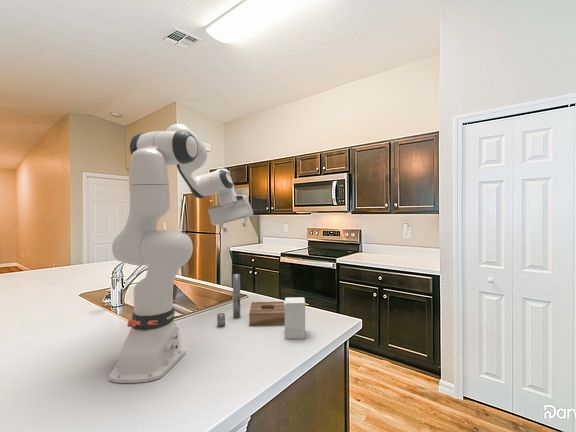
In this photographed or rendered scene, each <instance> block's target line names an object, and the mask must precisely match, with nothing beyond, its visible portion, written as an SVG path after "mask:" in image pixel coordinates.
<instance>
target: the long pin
mask: <svg viewBox="0 0 576 432" xmlns="http://www.w3.org/2000/svg"><path fill="white" fill-rule="evenodd" d="M232 318H233V319H240V318H241V274H240V273H234V274H232Z"/></svg>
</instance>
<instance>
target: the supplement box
mask: <svg viewBox="0 0 576 432" xmlns="http://www.w3.org/2000/svg"><path fill="white" fill-rule="evenodd" d="M284 306H285V325H284V339H287V340H288V339H291V340H292V339H293V340H294V339H295V340H298V339H299V340H301V339H302V340H303V339H306V300H305V297H301V296H300V297H299V296H298V297H295V296H294V297H285V298H284Z"/></svg>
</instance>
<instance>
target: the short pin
mask: <svg viewBox="0 0 576 432" xmlns="http://www.w3.org/2000/svg"><path fill="white" fill-rule="evenodd" d="M216 321H217V323H216V327H217V328H225V327H226V313H224V312H221V313H217V314H216Z"/></svg>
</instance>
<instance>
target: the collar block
mask: <svg viewBox="0 0 576 432" xmlns="http://www.w3.org/2000/svg"><path fill="white" fill-rule="evenodd" d="M249 308H250V309H249V312H248V313H249V314H248V315H249V327H258V326H259V327H262V326H263V327H265V326H267V327H268V326H271V327H272V326H285V300H284V301H283V300H282V301H252V302H251V304H250V307H249Z"/></svg>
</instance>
